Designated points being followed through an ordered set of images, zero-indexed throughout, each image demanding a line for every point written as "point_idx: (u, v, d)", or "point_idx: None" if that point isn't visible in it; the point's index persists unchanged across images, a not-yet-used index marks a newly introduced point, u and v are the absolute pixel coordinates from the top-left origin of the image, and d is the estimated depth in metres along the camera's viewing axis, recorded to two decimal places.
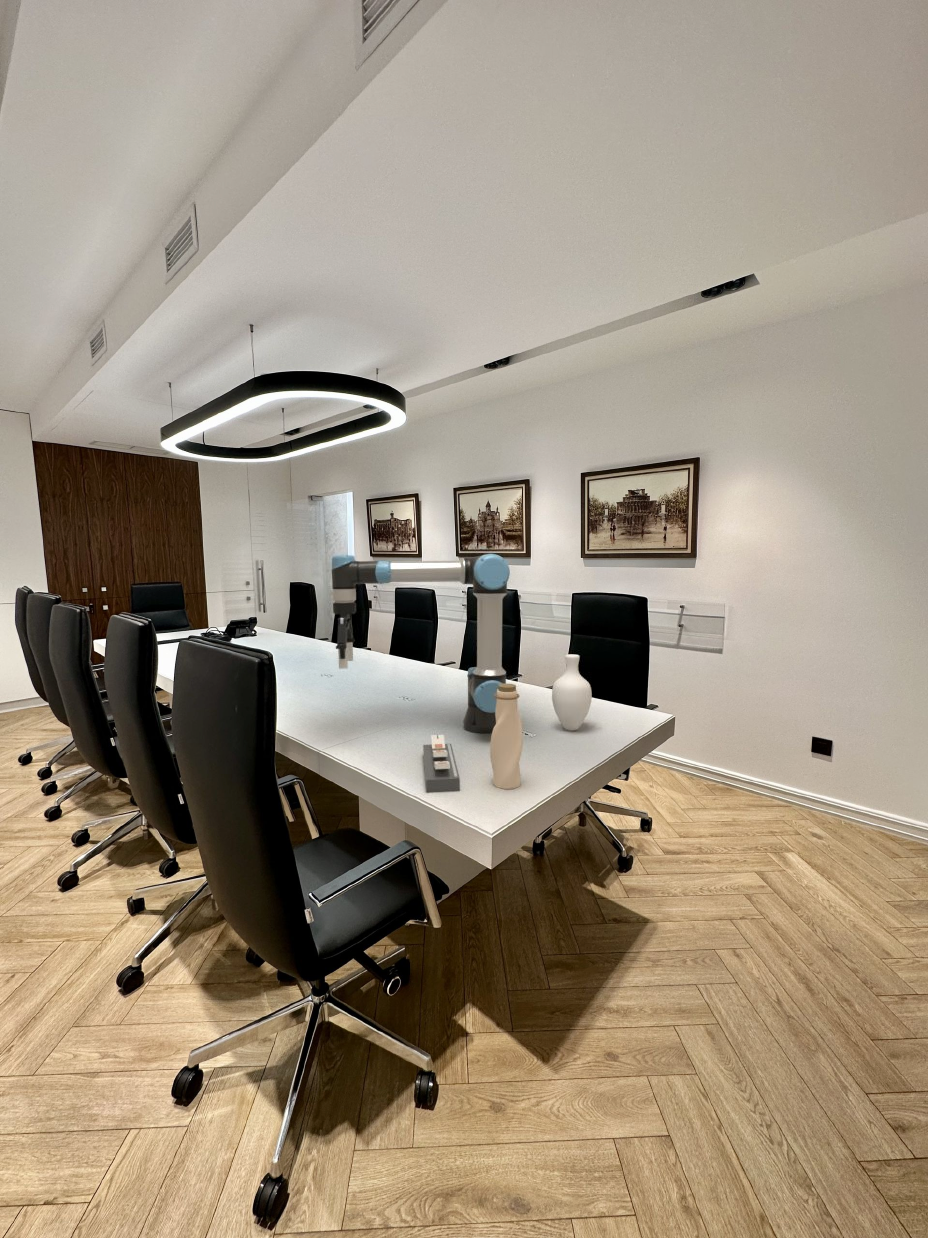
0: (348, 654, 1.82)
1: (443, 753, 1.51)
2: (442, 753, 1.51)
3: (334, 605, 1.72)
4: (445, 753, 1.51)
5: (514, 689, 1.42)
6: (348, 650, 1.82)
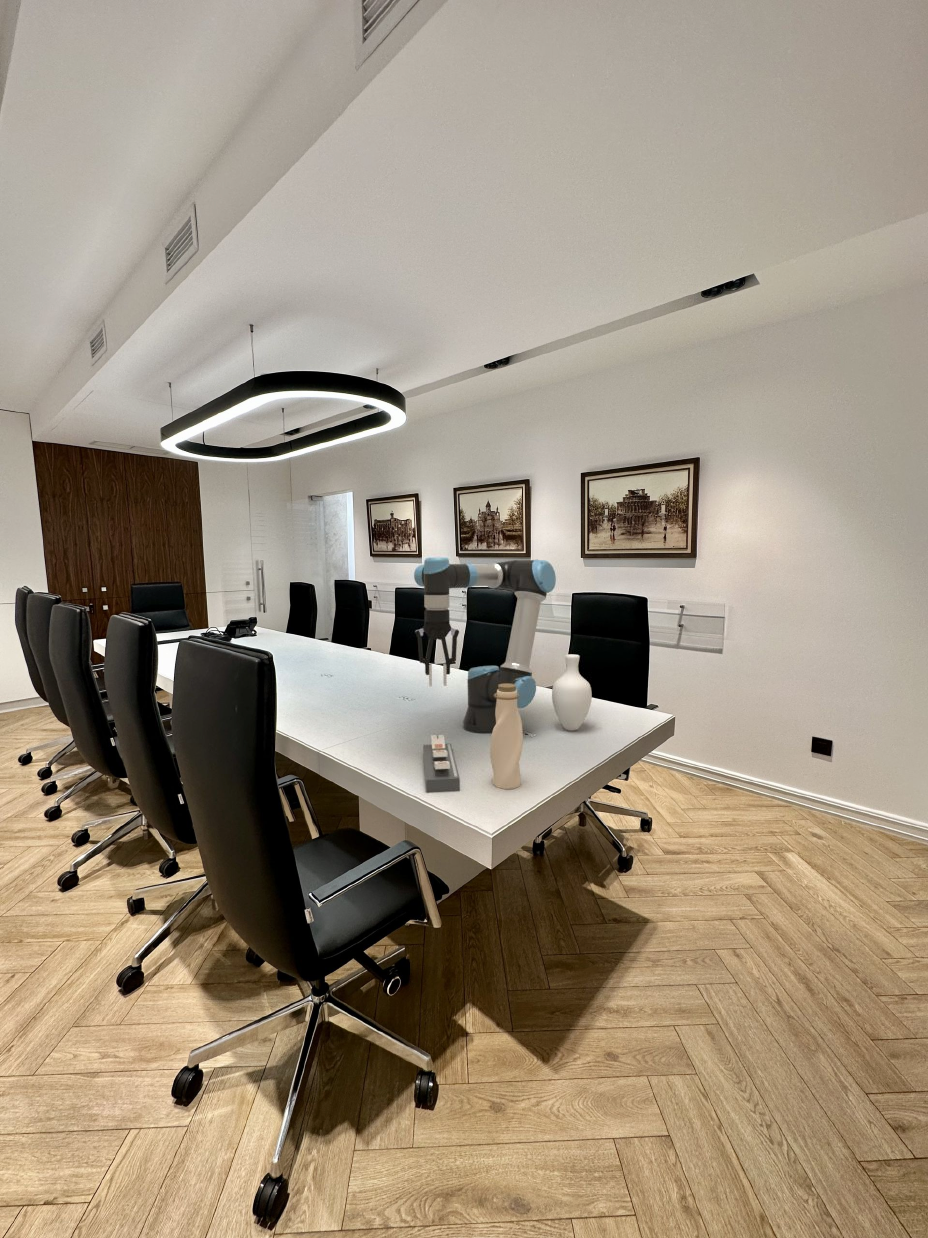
0: (443, 677, 1.60)
1: (443, 753, 1.51)
2: (442, 753, 1.51)
3: None
4: (445, 753, 1.51)
5: (514, 689, 1.42)
6: (443, 672, 1.60)
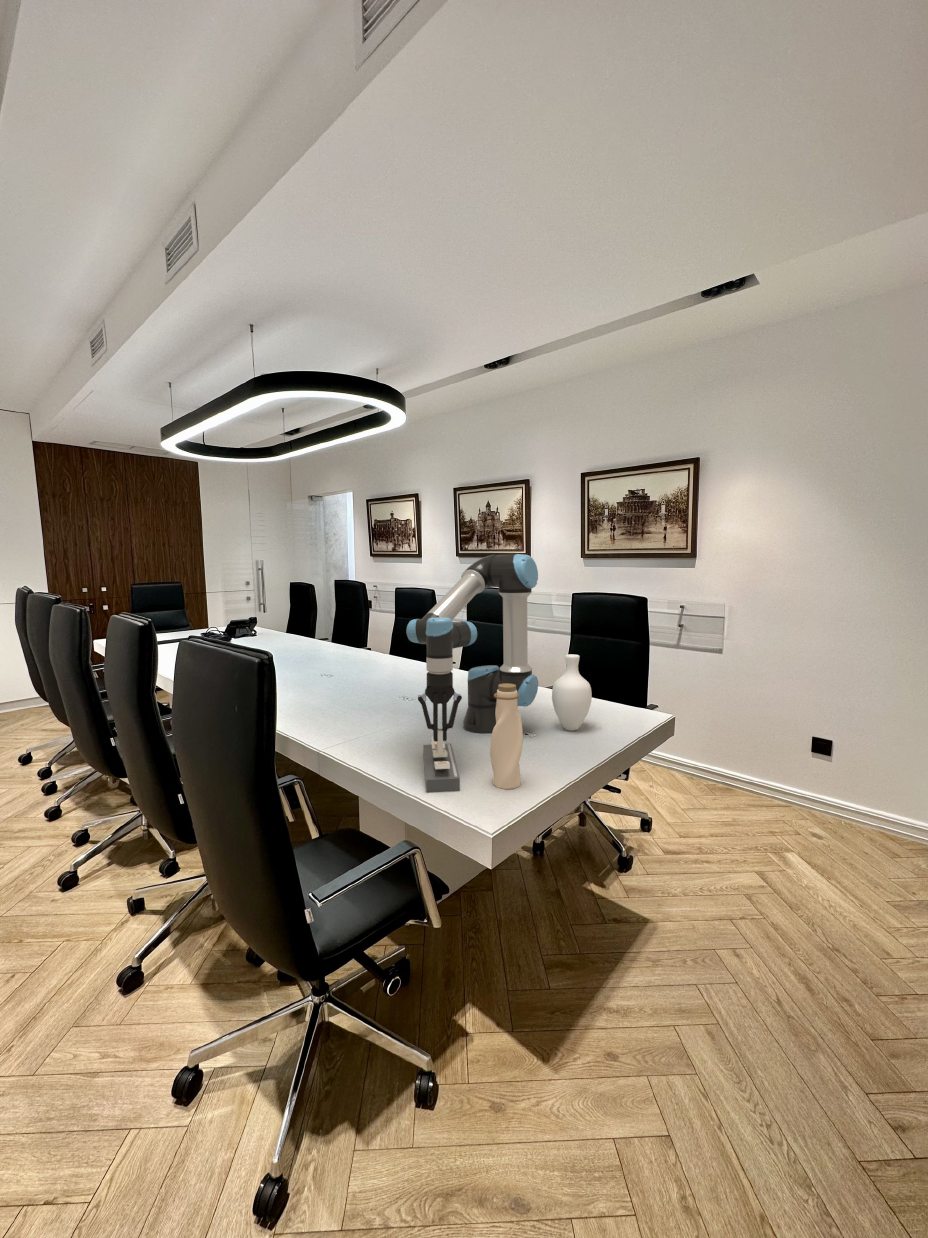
0: None
1: (443, 753, 1.51)
2: (442, 753, 1.51)
3: None
4: (445, 753, 1.51)
5: (514, 689, 1.42)
6: None
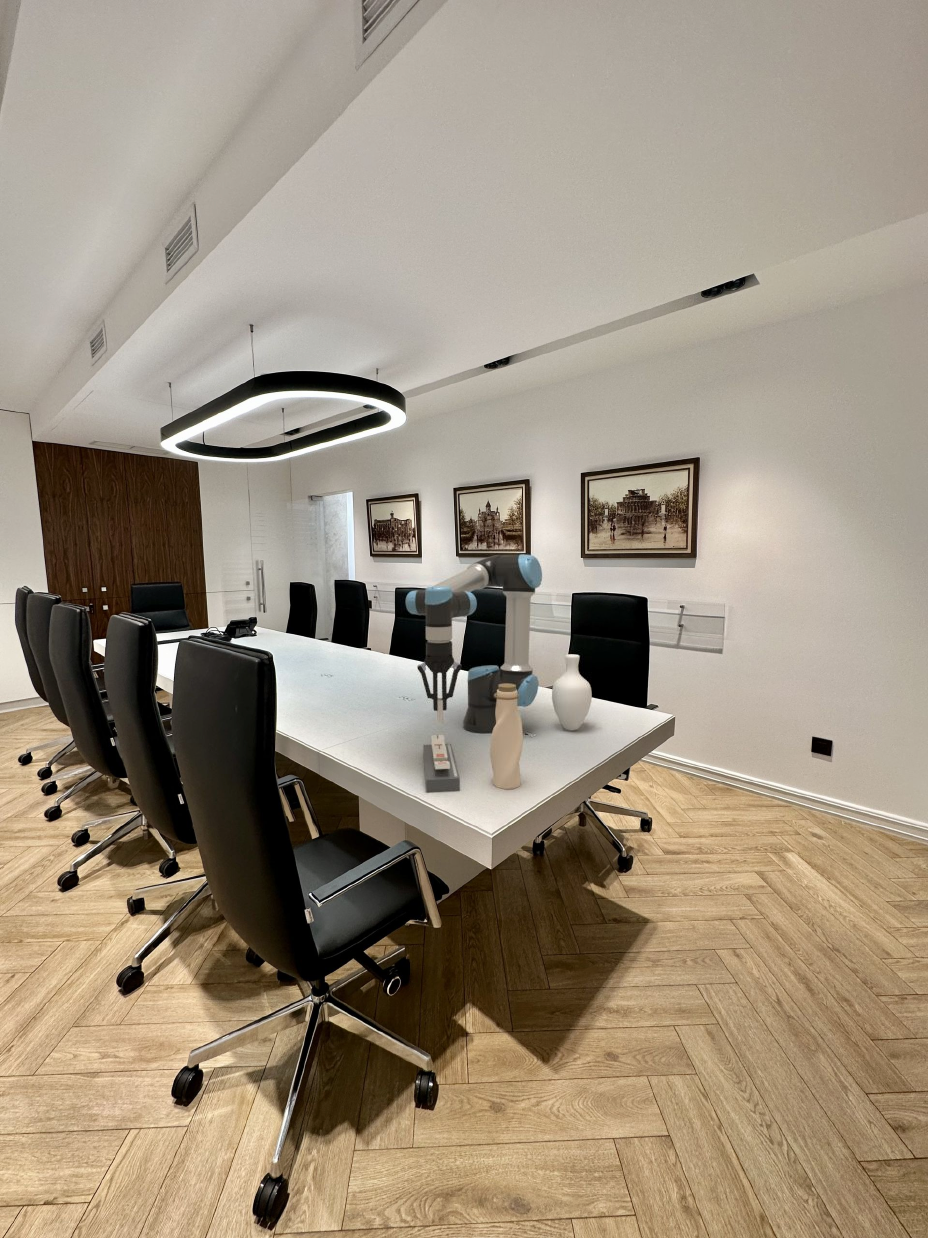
0: None
1: (443, 758, 1.51)
2: (442, 758, 1.51)
3: None
4: (445, 758, 1.51)
5: (514, 689, 1.42)
6: None
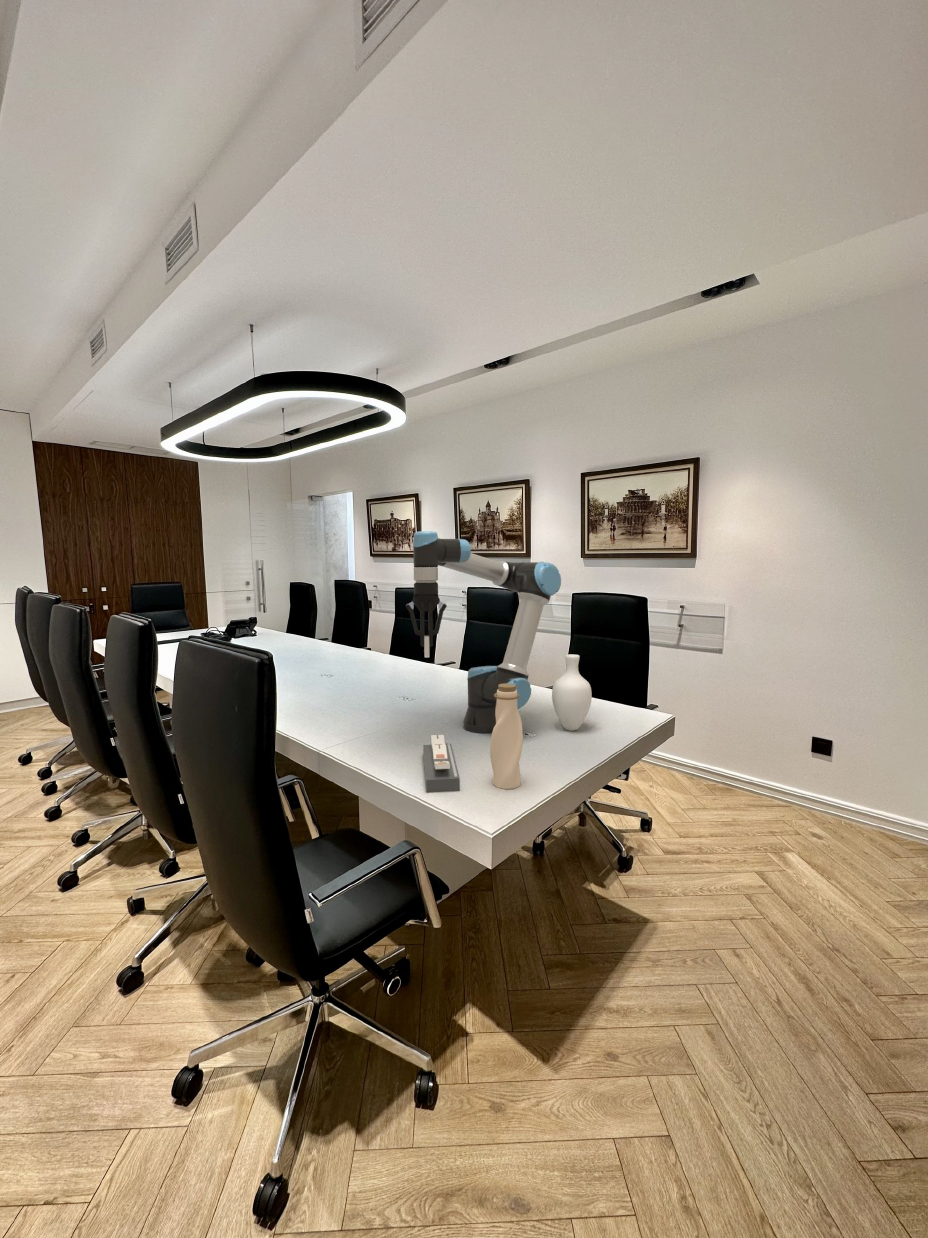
0: None
1: (443, 759, 1.51)
2: (442, 759, 1.51)
3: None
4: (445, 759, 1.51)
5: (514, 689, 1.42)
6: None
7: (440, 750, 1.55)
